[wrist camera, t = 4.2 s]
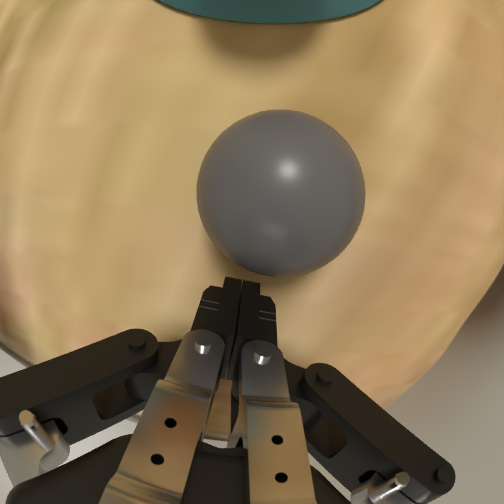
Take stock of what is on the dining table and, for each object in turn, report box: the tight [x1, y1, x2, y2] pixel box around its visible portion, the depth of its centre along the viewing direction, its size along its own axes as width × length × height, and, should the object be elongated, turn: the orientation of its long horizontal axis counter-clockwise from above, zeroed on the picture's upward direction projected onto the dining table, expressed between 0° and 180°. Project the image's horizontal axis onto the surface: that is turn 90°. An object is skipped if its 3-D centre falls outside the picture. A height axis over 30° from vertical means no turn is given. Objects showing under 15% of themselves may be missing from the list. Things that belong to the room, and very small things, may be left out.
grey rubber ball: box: [197, 110, 365, 277], centre depth 9 cm, size 6×6×6 cm
